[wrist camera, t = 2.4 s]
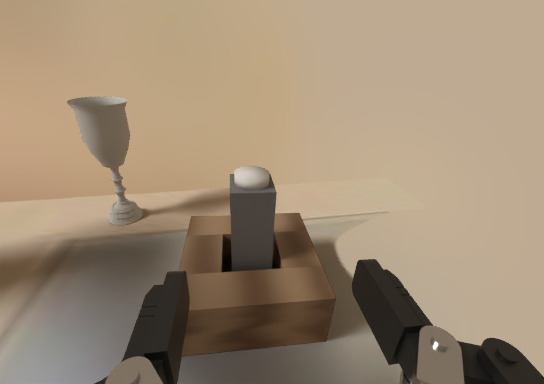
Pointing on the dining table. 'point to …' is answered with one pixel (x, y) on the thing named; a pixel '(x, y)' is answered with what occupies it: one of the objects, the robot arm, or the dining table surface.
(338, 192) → the dining table surface
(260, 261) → the plug
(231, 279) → the wooden square socket block
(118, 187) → the chalice
